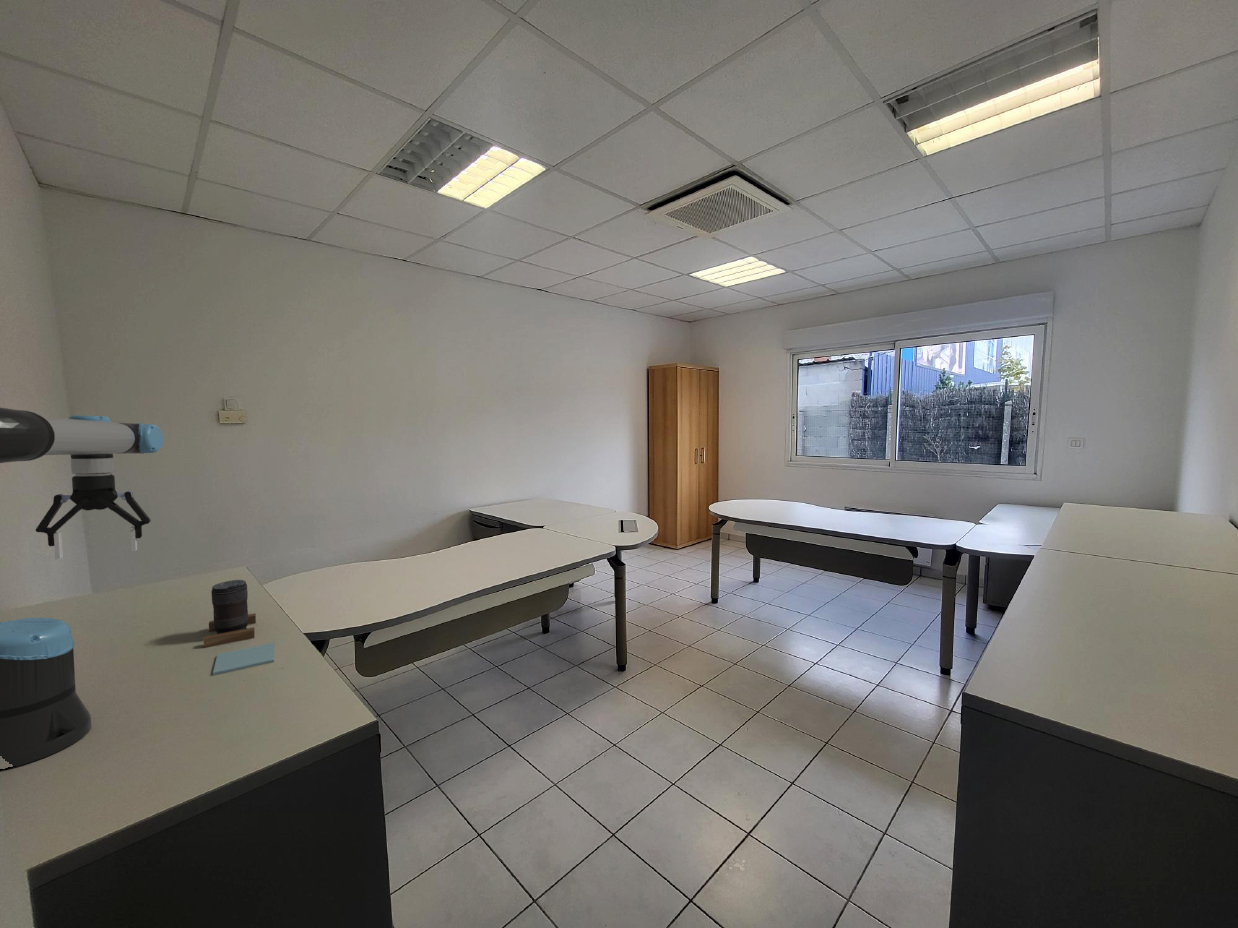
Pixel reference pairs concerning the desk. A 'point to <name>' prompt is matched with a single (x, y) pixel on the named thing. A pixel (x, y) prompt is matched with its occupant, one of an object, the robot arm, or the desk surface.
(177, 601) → the desk surface
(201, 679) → the desk surface
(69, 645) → the robot arm
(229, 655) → the mat
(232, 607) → the camera lens
